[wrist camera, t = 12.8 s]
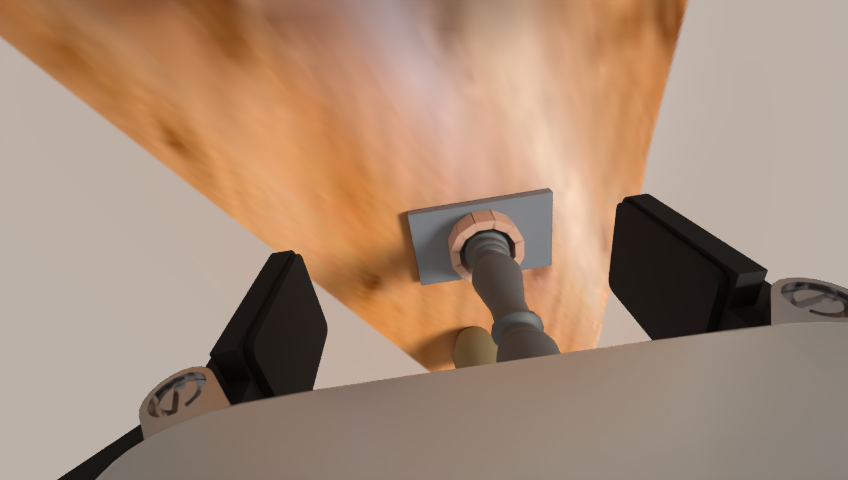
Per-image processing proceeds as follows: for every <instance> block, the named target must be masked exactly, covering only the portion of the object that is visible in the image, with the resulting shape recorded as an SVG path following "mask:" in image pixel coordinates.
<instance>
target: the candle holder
mask: <svg viewBox="0 0 848 480" xmlns="http://www.w3.org/2000/svg"><path fill="white" fill-rule="evenodd" d="M462 249H463V252H464V256H465V258H466V261H467V263H468V264H469V265H470V268H471V269H472V270H473V271H472V284H473V286H474V289H475V291H476V292H477V294H478V295H479V296H480V297H481V299H482V300H483V302H484V303H485V304H486V306H487V307H488V308H489V310H490V311H491V313H492V316H493V320H494V323H493V325H492V331H491V336H492V338H493V341H494V343H495V344H496V345H497V346H498V350H497V356H496V362H497V363H500V362H506V361H513V360H520V359H527V358H534V357H541V356H548V355H555V354H561V353H560V351H559V349H558V347H557V345H556V343H555V341H554V340H553V339H552V338H550V337H549V336H548V335H547V334H546V333H544V332H543V330H544V326H543V323H542V320H541V318H540V317H539V316H538V315H537V314H535V313H534V312H533V311H530V310H529V309H528V306H527V304H526V302H525V298H524V287H523V276H522V272H521V269H520V266H519V264H518V263H517V262H516V261H515V260H514V259H513V258H512V257H510V251H509V245H508V242H507V240H506V238H505V236H504V234H503V232H502V231H499V230H496V229H488V230H481V231H477V232H476V233H475V234H473V235H472V236H470V237H469V238H467V239H466V240H465V242H464V244H463V246H462Z"/></svg>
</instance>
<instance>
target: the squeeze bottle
mask: <svg viewBox="0 0 848 480" xmlns="http://www.w3.org/2000/svg"><path fill="white" fill-rule="evenodd" d="M497 350H498V346H497V345H496V344H495V343H494V341H493V338H492V336H491V335H490V334H489V333H488V332H487V331H486V330H485V329H483V328H481V327H470V328H466V329H464V330H463V331H461V332H460V333H459V335H458V336H457V340H456V343H455V347H454V351H453V356H452V357H453V360H454V364H455V367H456V369H459V368H466V367H473V366H479V365H486V364H493V363H497V362H496V356H497Z"/></svg>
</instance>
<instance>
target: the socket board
mask: <svg viewBox="0 0 848 480" xmlns="http://www.w3.org/2000/svg"><path fill="white" fill-rule="evenodd" d="M552 206H553V192H552V191H551V190H550V189H549V188H548V189H542V190H535V191H529V192H523V193H517V194H511V195H504V196H498V197H492V198H486V199H480V200H473V201H467V202H461V203H455V204H449V205H442V206H436V207H430V208H424V209H418V210H411V211H408V220H409V225H410V230H411V235H412V240H413V246H414V251H415V256H416V261H417V266H418V271H419V276H420V281H421V285H428V284H434V283H441V282H447V281H454V280H460V279H463V280H465V281H469V282H472V271H473V270H472V269H471V268H470V265H469V264H468V263H467V261H466V258H465V256H464V252H463V249H462V246H463V244H464V242H465V240H466V239H467V238H469V237H470V236H472V235H473V234H475V233H476V232H477V231H481V230H488V229H496V230H499V231H502V232H503V234H504V236H505V238H506V240H507V242H508V245H509V251H510V257H512V258H513V259H514V260H515V261H516V262H517V263H518V264H519V266H520V269H521V270H525V269H532V268H538V267H545V266H551V263H552Z"/></svg>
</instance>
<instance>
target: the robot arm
mask: <svg viewBox="0 0 848 480" xmlns="http://www.w3.org/2000/svg"><path fill="white" fill-rule="evenodd" d="M767 271H768V270H767V269H765V268H764V267H762V266H761V265H759V264H757V263H756V262H754V261H753V260H751V259H750V258H748V257H746V256H745V255H743V254H742V253H740V252H739V251H737V250H736V249H734V248H732V247H731V246H729V245H728V244H726V243H725V242H723V241H721V240H720V239H718V238H717V237H715V236H714V235H712V234H711V233H709V232H707V231H706V230H704V229H703V228H701V227H700V226H698V225H696V224H695V223H693V222H692V221H690V220H689V219H687V218H685V217H684V216H682V215H681V214H679V213H678V212H676V211H674V210H673V209H671V208H670V207H668V206H667V205H665V204H664V203H662V202H660V201H659V200H657V199H656V198H654V197H653V196H651V195H649V194H642V195H635V196H629V197H625V198H624V199H623V201H622V203H619V204H618V205H617V208H616V217H615V226H614V235H613V244H612V253H611V262H610V271H609V285H610V288H611V290H612V292H613V293H614V294H615V295H616V297H617V298H618V299H619V300H620V301H621V303H622V304H623V305H624V306H625V308H626V309H627V310H628V311H629V312H630V313H631V315H632V316H633V317H634V319H635V320H636V321H637V322H638V323H639V325H640V326H641V327H642V328H643V329H644V331H645V332H646V333H647V334H648V336H649V337H650V338H651V339H652V341H646V342H638V343H631V344H624V345H617V346H610V347H603V348H596V349H589V350H582V351H575V352H568V353H562V354H555V355H548V356H541V357H534V358H527V359H520V360H513V361H506V362H500V363H493V364H486V365H479V366H473V367H466V368H459V369H452V370H445V371H438V372H432V373H425V374H418V375H411V376H404V377H398V378H391V379H384V380H377V381H371V382H364V383H358V384H351V385H344V386H338V387H331V388H325V389H318V390H313V386H314V382H315V379H316V374H317V371H318V367H319V363H320V360H321V356H322V351H323V348H324V344H325V340H326V336H327V323H326V320H325V317H324V314H323V312H322V309H321V306H320V304H319V301H318V298H317V296H316V293H315V290H314V288H313V285H312V282H311V279H310V277H309V274H308V271H307V269H306V266H305V263H304V261H303V258H302V256H301V255H300V254H295V253H294V251H292V250H290V251H284V252H278V253H272V254H271V255H270V257H269V259H268V260H267V262H266V263H265V265H264V266H263V268H262V270H261V271H260V273H259V275H258V276H257V278H256V279H255V281H254V283H253V284H252V286H251V288H250V289H249V291H248V292H247V294H246V296H245V297H244V299H243V300H242V302H241V304H240V305H239V307H238V309H237V310H236V312H235V313H234V315H233V317H232V318H231V320H230V322H229V323H228V325H227V326H226V328H225V330H224V331H223V333H222V335H221V336H220V338H219V339H218V341H217V343H216V344H215V346H214V348H213V349H212V351H211V352H210V356H211V359H210V360H209V362H208V364H207V365H206V367H202V366H201V367H191V368H188V369H185V370H182V371H180V372H177V373H175V374H173V375H171V376H170V377H168V378H167V379H165V380H164V381H162V382H161V383H160V384H158V385H157V386H156V387H155V388H154V389H153V390H152V391H151V392H150V393H149V394H148V396H147V397H146V398H145V399H144V401H143V403H142V405H141V407H140V410H139V419H140V423H141V424H140V425H139V426H137V427H136V428H134V429H133V430H131V431H130V432H128V433H127V434H125V435H124V436H122V437H121V438H119V439H118V440H116V441H115V442H113V443H112V444H110V445H109V446H107V447H106V448H104V449H103V450H101V451H100V452H98V453H97V454H95V455H94V456H92V457H91V458H89V459H88V460H86V461H85V462H83V463H82V464H80V465H79V466H77V467H76V468H74V469H73V470H71V471H70V472H68V473H67V474H65V475H64V476H62V477H61V478H59V479H58V480H848V289H846V288H844V287H841V286H838V285H835V284H832V283H828V282H824V281H820V280H816V279H808V278H786V279H781V280H778V281H776V282H775V283H773V285H771V284H769V283H768V282H766V281H765V280H764V279H765V277H766V274H767Z"/></svg>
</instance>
